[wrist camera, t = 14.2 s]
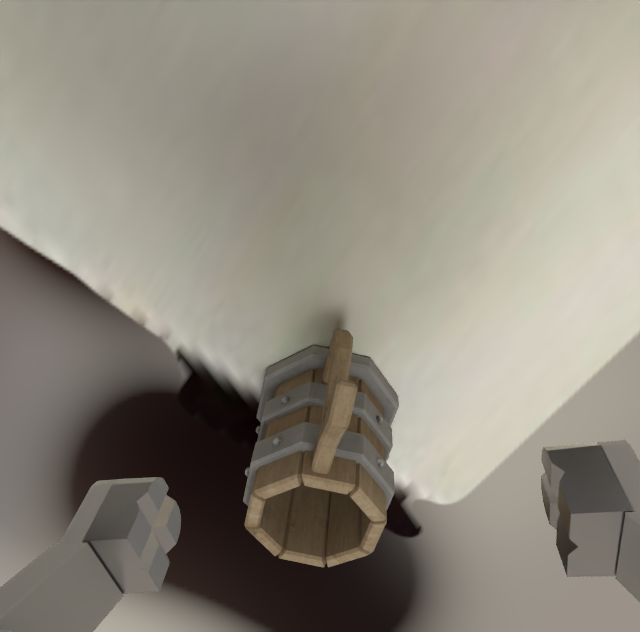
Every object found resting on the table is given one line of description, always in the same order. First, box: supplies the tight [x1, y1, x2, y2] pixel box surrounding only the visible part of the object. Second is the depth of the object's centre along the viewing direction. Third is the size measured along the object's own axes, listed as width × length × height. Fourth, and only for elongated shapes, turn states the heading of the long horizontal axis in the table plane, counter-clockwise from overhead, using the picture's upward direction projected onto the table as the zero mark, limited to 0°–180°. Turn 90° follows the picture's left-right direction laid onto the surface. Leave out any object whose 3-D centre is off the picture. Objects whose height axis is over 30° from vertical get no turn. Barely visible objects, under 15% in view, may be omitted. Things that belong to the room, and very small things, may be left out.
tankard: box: [243, 328, 399, 567], centre depth 43 cm, size 20×13×15 cm, turn 168°
